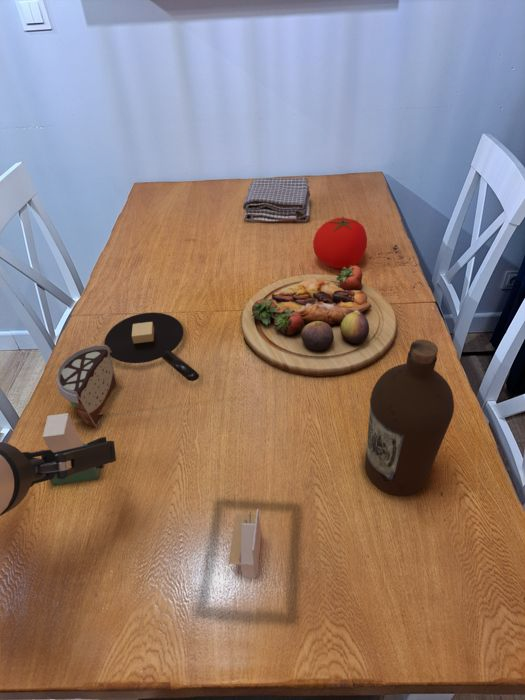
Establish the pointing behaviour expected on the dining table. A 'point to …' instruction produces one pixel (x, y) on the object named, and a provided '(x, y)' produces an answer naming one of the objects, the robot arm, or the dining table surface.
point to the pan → (164, 342)
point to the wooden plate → (319, 323)
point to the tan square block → (143, 332)
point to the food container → (87, 381)
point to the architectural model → (246, 544)
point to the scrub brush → (65, 445)
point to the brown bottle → (407, 422)
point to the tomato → (340, 242)
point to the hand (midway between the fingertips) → (55, 453)
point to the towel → (277, 200)
